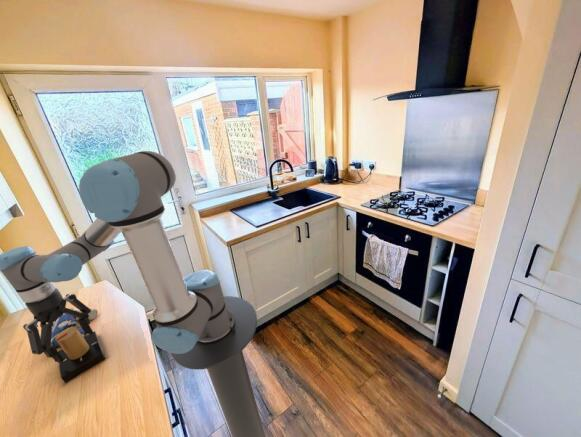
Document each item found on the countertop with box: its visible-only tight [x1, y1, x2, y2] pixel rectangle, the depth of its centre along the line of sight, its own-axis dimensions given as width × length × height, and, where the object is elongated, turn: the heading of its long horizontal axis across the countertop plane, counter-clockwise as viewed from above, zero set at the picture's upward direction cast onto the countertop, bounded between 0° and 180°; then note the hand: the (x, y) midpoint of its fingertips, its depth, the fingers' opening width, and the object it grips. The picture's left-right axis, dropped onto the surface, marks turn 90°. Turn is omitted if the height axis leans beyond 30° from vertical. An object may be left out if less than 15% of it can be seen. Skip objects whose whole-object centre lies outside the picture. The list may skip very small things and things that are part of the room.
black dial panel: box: [57, 330, 107, 384], centre depth 85 cm, size 14×11×3 cm
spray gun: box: [51, 308, 99, 349], centre depth 98 cm, size 21×4×15 cm
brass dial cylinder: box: [56, 326, 89, 360], centre depth 82 cm, size 6×6×9 cm
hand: (75, 346), depth 83 cm, fingers open, 10 cm apart
